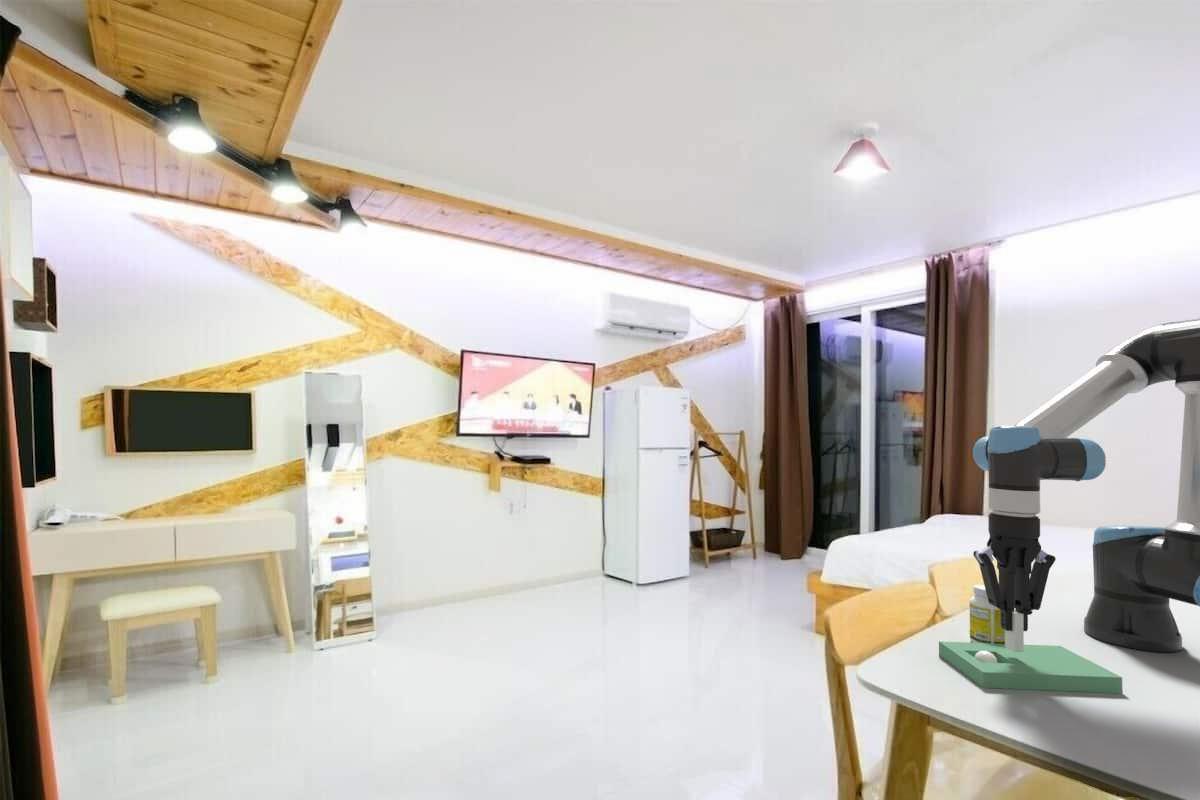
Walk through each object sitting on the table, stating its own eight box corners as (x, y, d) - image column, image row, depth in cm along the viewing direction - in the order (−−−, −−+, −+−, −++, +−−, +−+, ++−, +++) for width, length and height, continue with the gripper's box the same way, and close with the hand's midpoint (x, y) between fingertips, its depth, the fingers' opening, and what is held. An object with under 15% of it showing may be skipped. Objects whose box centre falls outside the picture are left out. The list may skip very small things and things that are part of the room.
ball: (992, 651, 107) (973, 644, 107) (1005, 659, 104) (985, 652, 104) (986, 670, 107) (967, 663, 107) (998, 678, 104) (978, 671, 104)
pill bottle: (1001, 641, 121) (1001, 585, 122) (1011, 651, 115) (1011, 593, 116) (966, 636, 123) (966, 582, 124) (974, 647, 117) (973, 589, 118)
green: (1060, 659, 112) (1060, 645, 112) (1122, 693, 98) (1122, 677, 98) (938, 655, 113) (938, 641, 113) (982, 687, 99) (982, 672, 99)
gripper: (1037, 511, 110) (1038, 642, 109) (963, 509, 110) (963, 640, 110) (1067, 517, 102) (1068, 659, 101) (988, 515, 103) (988, 655, 102)
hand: (1014, 649), depth 106 cm, fingers closed
